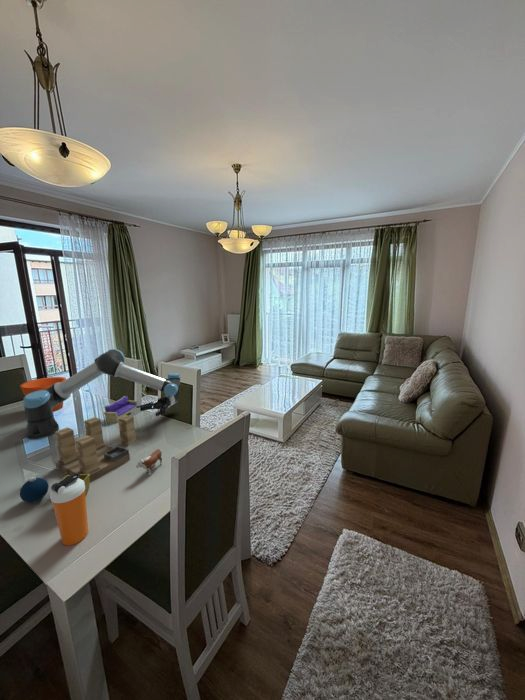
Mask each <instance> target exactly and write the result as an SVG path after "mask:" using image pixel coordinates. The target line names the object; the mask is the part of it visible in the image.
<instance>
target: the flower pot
mask: <svg viewBox="0 0 525 700" xmlns="http://www.w3.org/2000/svg"><path fill="white" fill-rule="evenodd" d="M68 476H70V475H68V474H66V475H65V476H64V477H63V478H62V479H61V480H60V481H62V480H63V479H65V478H66V477H68ZM79 479H81V480H83V481H84V483H85V498H86V497H87V495H88V493H89V490H90V483H89V481H90V474H80V476H79Z"/></svg>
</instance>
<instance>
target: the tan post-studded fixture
mask: <svg viewBox="0 0 525 700" xmlns="http://www.w3.org/2000/svg"><path fill="white" fill-rule="evenodd" d="M101 420H102V419H101V418H99V417H96V416H94V417H91V418H88V419H85V420H83V425H84V429H85V430H84V431H85V436H83V437H80V438H78V439H75V434H74V433H75V432H74V429H72V428H70V427H68V426H67V427H64V428H61V429H59V430H58V431H56V432H55V433H54V436H55V441H56V447H57V453H58V458H59V459H58V460H56V461H54V465H55V468H56V469H57V470H59V471H60V472H63V473H64V474H66V475H72V474H90V481H89V484H91V483H92V482H93V481H95V480H97V479H99V478H100V477H102V476H103V475H104V476H105V475H106V474H108V473H109V472H111V471H113V470H114V469H116V468H119V467H120V466H121V465H123V464H125V463H127V462H128V461H131V456H130V450H129V449H128V448H126V447H122V446H120V445H118V446H115V447H114V446H111V445H108V444H106V443H104V435H103V427H102V421H101Z"/></svg>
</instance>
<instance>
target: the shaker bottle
mask: <svg viewBox="0 0 525 700" xmlns="http://www.w3.org/2000/svg"><path fill="white" fill-rule="evenodd" d="M79 476H80V474H72V475H70V476H68V477H66V478H65V479H63V478H62V479H63V480H62V479H61V480H62V481H61V480H60V481H59V482H54V483H52V484H51V486H50V489H51V490H50V493H49V497H50V502H51V504H52V506H53V510H54V515H55V519H56V522H57V527H58V531H59V535H60V539H61V542H62V545H64V546H74V545H76V544H78V543H80V542H81V541H83V540H84V539H85V538H86V537H87V536H88V534H89V523H88V513H87V512H88V511H87V502H86V497H85V483H84V481H83V480H81V479H79Z"/></svg>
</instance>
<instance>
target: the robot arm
mask: <svg viewBox="0 0 525 700" xmlns="http://www.w3.org/2000/svg"><path fill="white" fill-rule="evenodd" d="M125 359H126V357H125V353H123V351H121V350H119V349H116V348H113V349H108V350H107V351H105V352H103V353H102V354H100V355H99V356H97V357H96V358H94V362H92V363H91V364H89V365H87V366H86V367H84V368H82V369H81V370H80V371H78V372H76V373H74V374H73V375H72V376H70V377H68V378H66V380H65V381H63V382H62V383H60V382H57V383H55V384H53V385H52V386H50V387H48V388H47V389H45V390H40V391H35V392H33V393H30V394H28V395H26V396H25V395H24V397H23V400H22V401H23V406H24V408H23V409H24V413H25V416H26V417H25V418H26V421H27V424H26V428H25V434H24V435H25V438H26V439H28V440H37V439H38V440H39V439H42V438H47V437H50V436H52V435H55V432H56V431H59V430H60V426H59V424H58V421H57V420H56V419H55V417H54V412H53V411H52V409H53V408H54V407H56V406H57V405H59V404H60V403H62V402H63V403H64V402H65V401H66V400H68V399H70V398H71V397H72V394H73V393H74V392H76V391H78V390H79V389H81V388H82V387H84V386H86V385H87V384H89V383H91V382H93V381H95V380H96V379H97V378H99V377H100V376H102V375H106V376H110V377H114V378H117V377H119V378H122V379H125V380H127V381H131V382H133V383H136V384H139V385H142V386H144V387H147V388H151V389H154V390H155V391H156V390H157V391H160V392H163V393H164V396H162V397H160V398H158V400H157V401H156V402H154V401H150V402H147V403H144V404H143V403H142V404H140V405H137V409H135V410H133V411H131V412H130V416H133V417H134V416H136V415H138V414H139V413H141V412H145V411H147V410H151V411H152V410H153V411H154V410H156V411H154V412H152V413H150V415H149V416H150V420H154V419H156V418H157V417H158V416H162V415H166V414H167V412H168V410H169V409H171V406H173V405H175V404H177V403H179V402H178V398H179V397H178V394H179V385H181V376H180V375H179V374H180V373H179V372H169V373H168V374H167V379H166V378H163V377H160V376H157V375H155V374H152V373H149V372H146V371H145V370H141V369H138V368H136V367H132V366H129V365H127V364H124V363H125Z"/></svg>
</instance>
